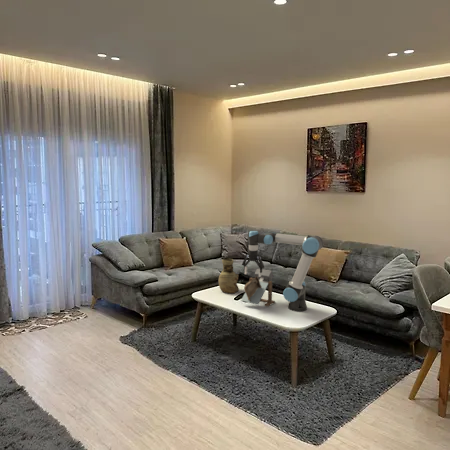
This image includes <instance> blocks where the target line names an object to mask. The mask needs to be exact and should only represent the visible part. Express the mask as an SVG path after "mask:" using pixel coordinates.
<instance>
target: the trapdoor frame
mask: <svg viewBox="0 0 450 450" xmlns="http://www.w3.org/2000/svg"><path fill="white" fill-rule="evenodd" d="M253 278H254V277H249V280H248V282H249V281H252V279H253ZM267 282H268V286H267V299H266V298H261V300H260V302H263V303H264V306H265V307H269V306H271V305H273V304H275V303H276V302H275V300H273V281H267Z"/></svg>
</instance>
